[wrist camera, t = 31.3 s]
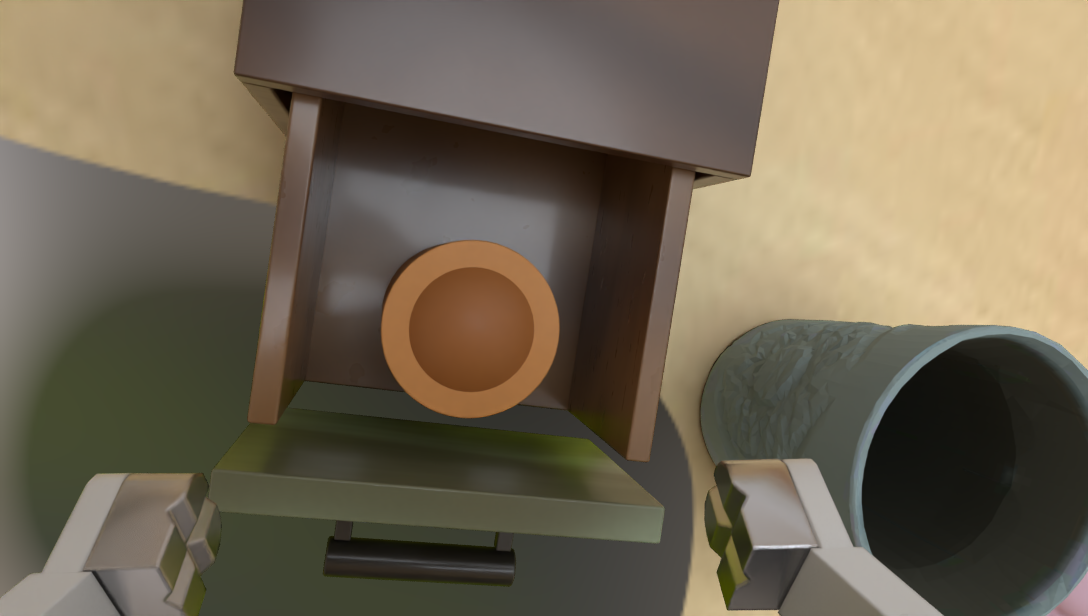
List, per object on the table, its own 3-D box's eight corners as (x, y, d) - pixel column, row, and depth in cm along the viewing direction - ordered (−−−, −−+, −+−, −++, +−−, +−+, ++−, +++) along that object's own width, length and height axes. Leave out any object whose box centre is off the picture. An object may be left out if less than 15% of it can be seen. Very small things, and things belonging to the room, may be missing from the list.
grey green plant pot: (675, 320, 33) (837, 355, 21) (871, 286, 35) (1118, 301, 23) (701, 534, 34) (870, 681, 22) (890, 489, 36) (1136, 602, 24)
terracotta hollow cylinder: (371, 375, 28) (367, 413, 21) (393, 232, 28) (395, 224, 21) (512, 392, 29) (551, 433, 22) (533, 255, 29) (579, 255, 22)
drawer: (570, 560, 31) (639, 674, 23) (245, 539, 29) (184, 661, 20) (637, 132, 31) (734, 84, 22) (311, 64, 28) (278, -21, 19)
